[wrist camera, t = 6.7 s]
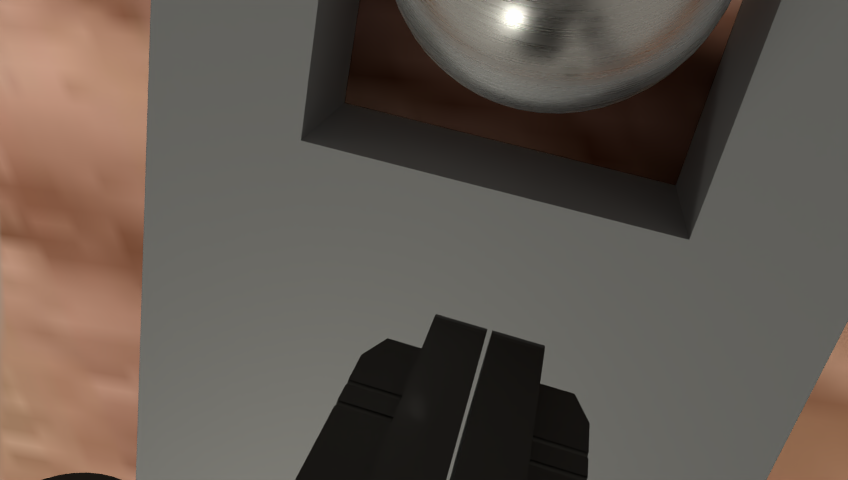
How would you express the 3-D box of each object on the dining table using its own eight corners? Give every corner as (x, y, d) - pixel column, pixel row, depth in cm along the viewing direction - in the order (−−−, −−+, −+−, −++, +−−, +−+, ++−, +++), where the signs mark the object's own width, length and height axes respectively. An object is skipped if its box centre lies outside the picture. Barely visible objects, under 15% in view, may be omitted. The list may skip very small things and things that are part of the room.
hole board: (1116, -405, 10) (1260, -484, 8) (575, 756, 22) (573, 856, 20) (255, -546, 11) (171, -651, 9) (174, 625, 23) (128, 705, 21)
